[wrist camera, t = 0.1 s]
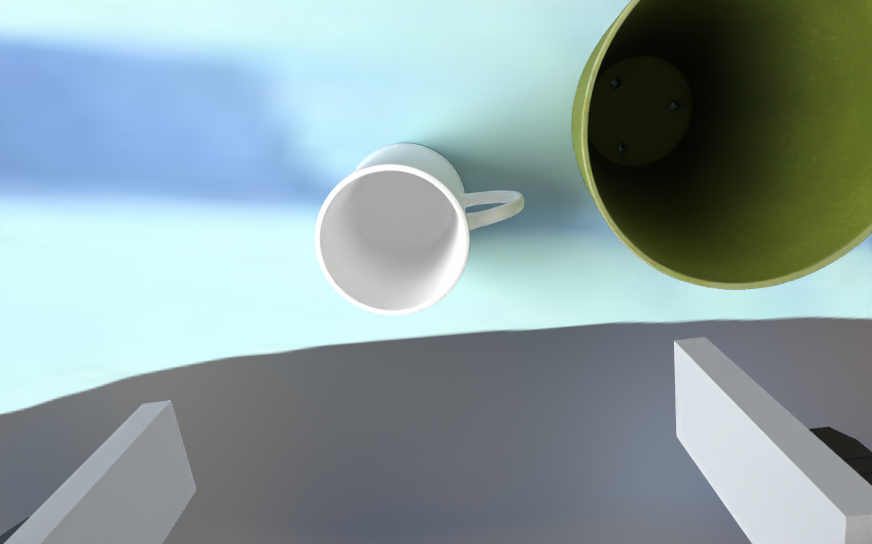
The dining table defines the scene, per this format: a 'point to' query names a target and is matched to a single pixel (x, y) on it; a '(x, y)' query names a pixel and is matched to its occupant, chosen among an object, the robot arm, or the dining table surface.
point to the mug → (402, 229)
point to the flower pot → (731, 136)
